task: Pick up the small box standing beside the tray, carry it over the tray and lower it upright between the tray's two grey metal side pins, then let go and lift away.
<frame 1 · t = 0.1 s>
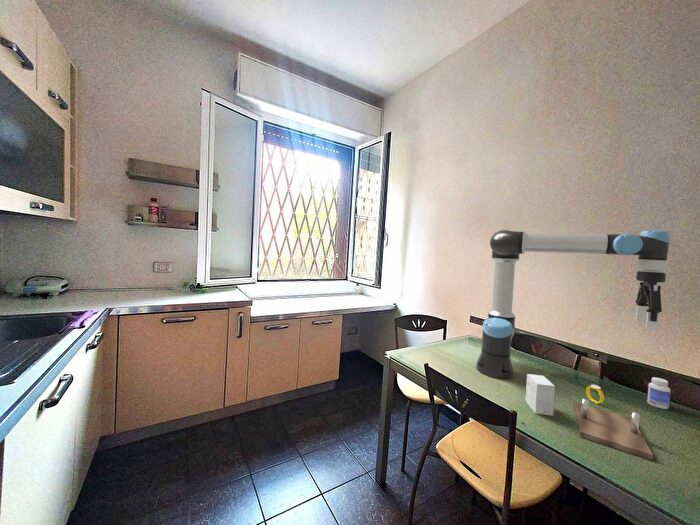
hand: (645, 325, 106), 28 cm above the table, tool pointing down, fingers open, 13 cm apart
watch: (594, 402, 102), on the table
pill bottle: (657, 405, 101), on the table
pin tray: (607, 429, 86), on the table
small box: (538, 408, 97), on the table
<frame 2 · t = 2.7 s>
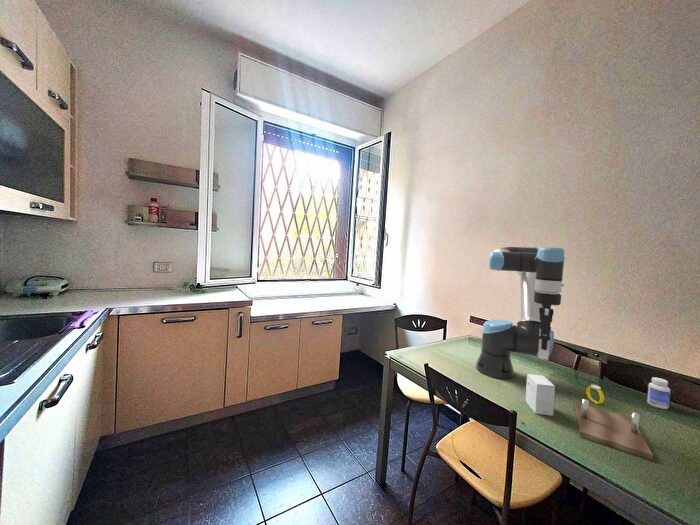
hand: (543, 352, 95), 20 cm above the table, tool pointing down, fingers open, 13 cm apart
nothing on the table moved.
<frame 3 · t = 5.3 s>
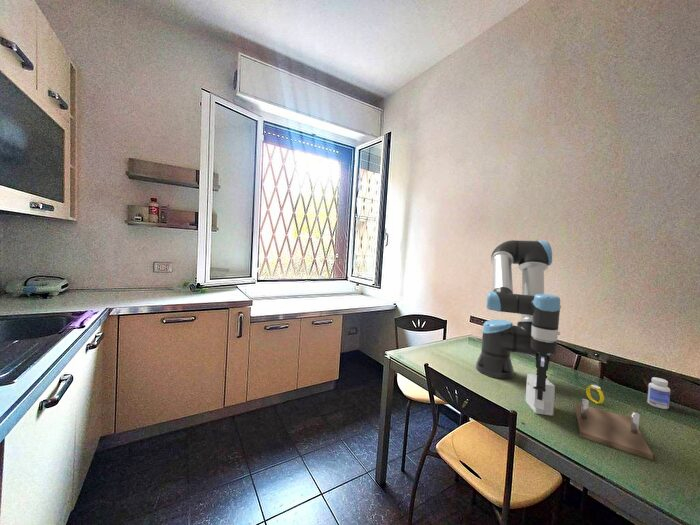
hand: (539, 401, 96), 3 cm above the table, tool pointing down, fingers closed on small box, 9 cm apart
small box: (538, 408, 97), on the table, touching gripper
everything else where it was.
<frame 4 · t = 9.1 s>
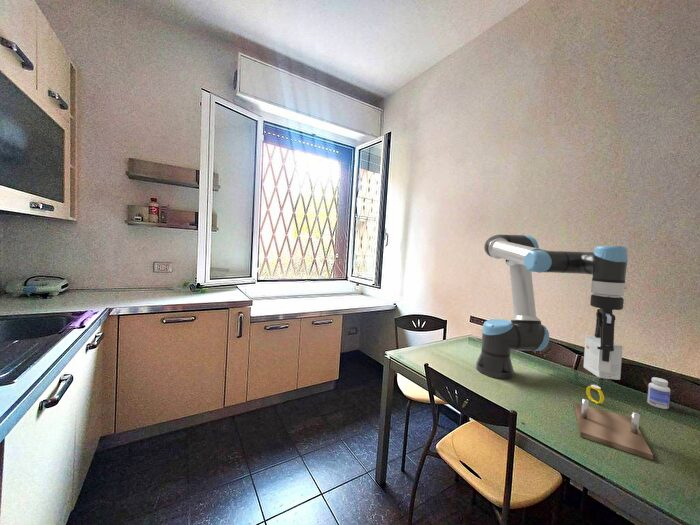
hand: (601, 365, 86), 20 cm above the table, tool pointing down, fingers closed on small box, 9 cm apart
small box: (600, 374, 86), point 17 cm above the table, touching gripper
everything else where it was.
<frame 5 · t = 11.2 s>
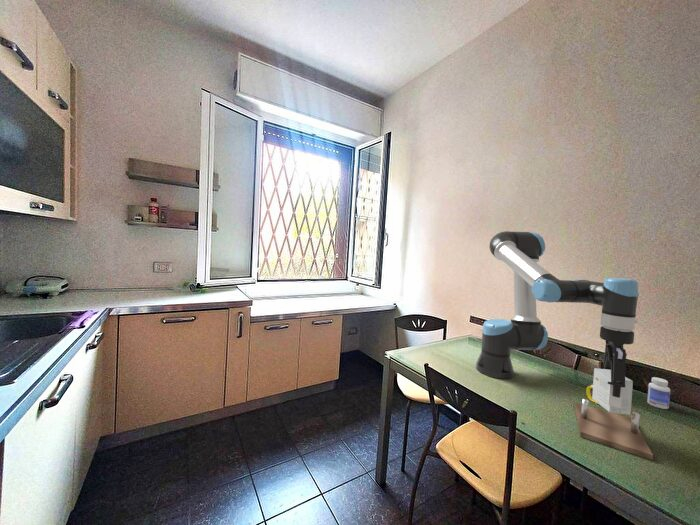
hand: (610, 398, 85), 10 cm above the table, tool pointing down, fingers closed on small box, 9 cm apart
small box: (610, 407, 86), point 7 cm above the table, touching gripper
everything else where it was.
when the fingers open (5 cm above the table, at t = 13.0 s): small box drops 1 cm, resting on pin tray.
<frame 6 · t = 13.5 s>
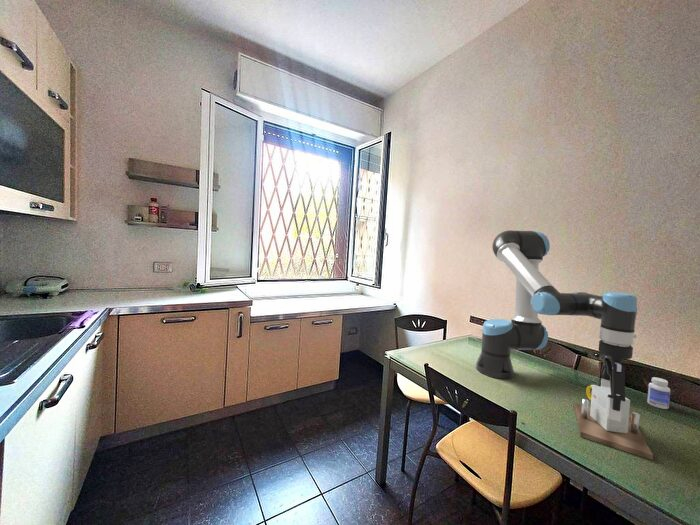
hand: (609, 408, 86), 7 cm above the table, tool pointing down, fingers open, 13 cm apart
small box: (607, 425, 86), point 1 cm above the table, touching pin tray
everything else where it was.
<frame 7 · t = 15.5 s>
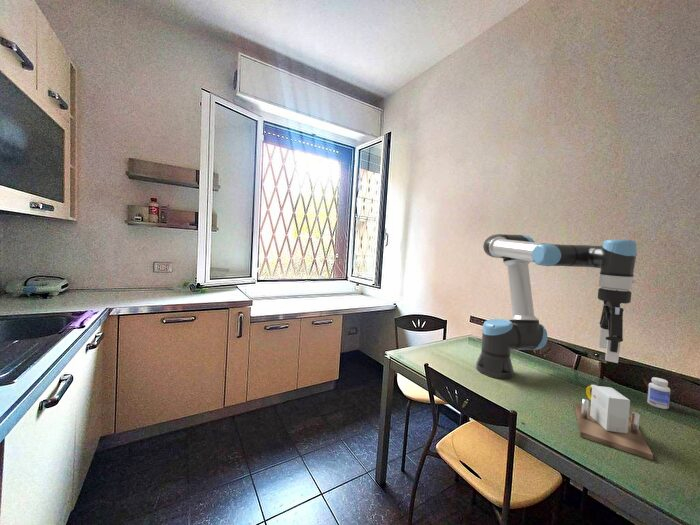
hand: (607, 354, 87), 23 cm above the table, tool pointing down, fingers open, 13 cm apart
nothing on the table moved.
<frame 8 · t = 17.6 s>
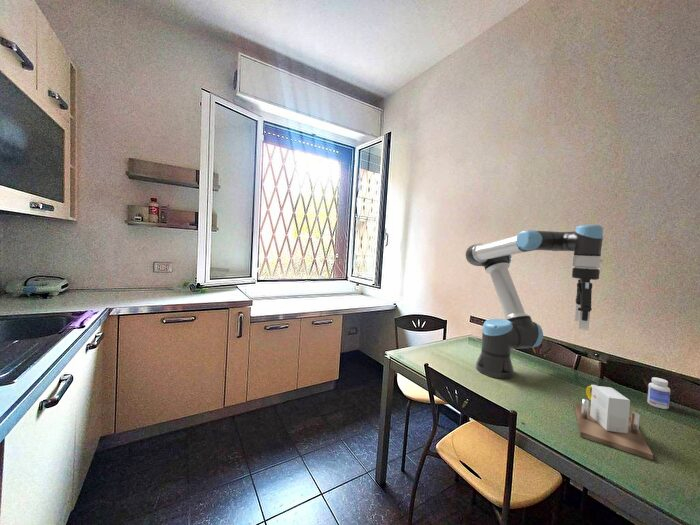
hand: (581, 325, 101), 29 cm above the table, tool pointing down, fingers open, 13 cm apart
nothing on the table moved.
at the end: small box 0.1 cm off-centre on the pin tray, point 1.3 cm above the pin tray's base; small box tilted 0°; the gripper is holding nothing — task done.
